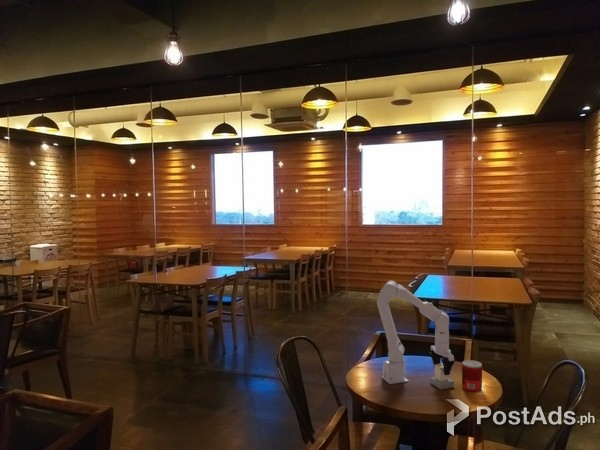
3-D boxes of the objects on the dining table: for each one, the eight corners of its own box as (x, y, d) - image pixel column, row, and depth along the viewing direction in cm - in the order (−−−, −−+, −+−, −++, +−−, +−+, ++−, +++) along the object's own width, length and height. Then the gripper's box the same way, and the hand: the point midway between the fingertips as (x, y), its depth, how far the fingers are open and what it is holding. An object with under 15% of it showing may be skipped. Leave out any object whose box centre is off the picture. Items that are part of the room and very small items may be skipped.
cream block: (440, 381, 189) (440, 367, 189) (434, 377, 193) (434, 364, 192) (448, 380, 190) (448, 366, 190) (442, 376, 194) (442, 363, 194)
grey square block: (440, 390, 187) (440, 383, 187) (430, 384, 194) (430, 377, 194) (453, 387, 189) (453, 381, 189) (443, 381, 196) (443, 375, 196)
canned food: (485, 390, 185) (486, 365, 184) (469, 393, 183) (469, 367, 182) (473, 383, 192) (474, 359, 192) (458, 386, 190) (458, 361, 189)
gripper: (460, 345, 185) (460, 376, 185) (440, 335, 199) (440, 364, 199) (445, 346, 183) (445, 378, 184) (426, 336, 197) (426, 366, 197)
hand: (441, 371), depth 191 cm, fingers open, 7 cm apart
